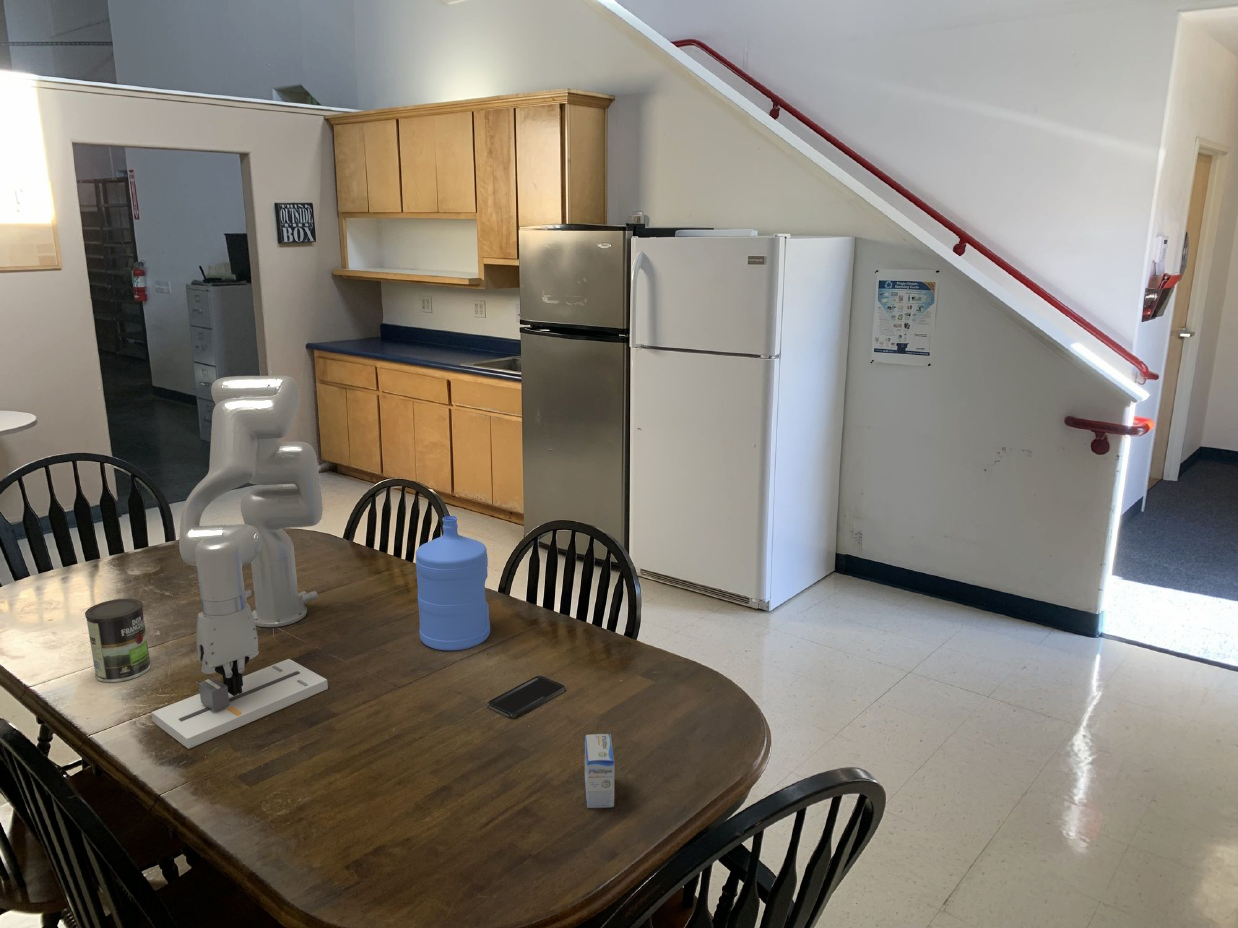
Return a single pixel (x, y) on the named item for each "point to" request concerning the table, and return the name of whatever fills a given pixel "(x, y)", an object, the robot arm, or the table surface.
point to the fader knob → (214, 694)
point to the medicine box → (599, 771)
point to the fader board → (240, 703)
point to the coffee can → (118, 640)
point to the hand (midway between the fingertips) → (234, 692)
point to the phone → (525, 697)
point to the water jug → (452, 590)
